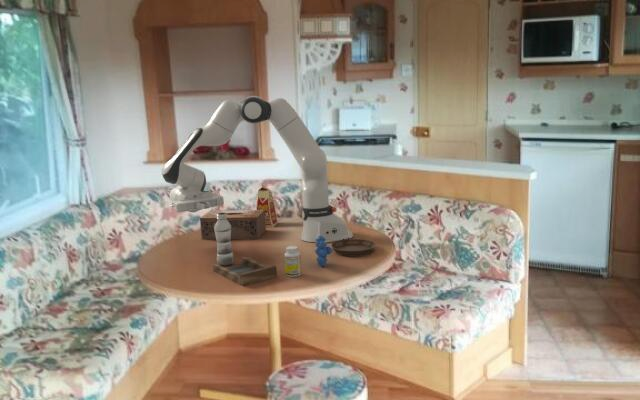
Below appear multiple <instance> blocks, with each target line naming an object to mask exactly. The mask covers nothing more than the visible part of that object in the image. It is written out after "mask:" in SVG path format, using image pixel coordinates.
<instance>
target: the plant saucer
mask: <svg viewBox="0 0 640 400" xmlns="http://www.w3.org/2000/svg"><path fill="white" fill-rule="evenodd" d="M376 245H377V244H376V243H375V242H374V241H372V240H368V239H361V238H355V239H354V238H349V239H344V240H338V241H333V243H332V242H331V245H330V247H331V248H332V249H333V251H334V252H335V253H336V254H338V255H340V256H345V257H360V256H366V255H368V254H370V253H371V252H372V251H373V250H374V249H375V247H376Z"/></svg>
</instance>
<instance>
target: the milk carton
mask: <svg viewBox="0 0 640 400" xmlns="http://www.w3.org/2000/svg"><path fill="white" fill-rule="evenodd" d="M256 210H264V211H265V227H266V228H274V227H275V226H276V225H277V224H278V216H277V212H276V211H277V210H276V206H275V200H274V197H273V191H272V190H271V189H269V188H268V187H267V185H266V184H265V185H264V184H261V187H260V188H259V189H258V191H257V198H256Z"/></svg>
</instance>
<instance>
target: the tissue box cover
mask: <svg viewBox="0 0 640 400" xmlns="http://www.w3.org/2000/svg"><path fill="white" fill-rule="evenodd" d="M218 213H226V215H227V219H226V220H227V221H228V222H229V223H230V225H231V240H259V239H260V238H261V236H262V235H263V234H264V233H265V232H266V231H267V230H266V228H267V227H265V211H264V210H257V209H238V210H235V209H231V210H229V209H228V210H225V209H224V210H223V209H222V210H209V211H207V212H206V213H205V214H203V215H202V216H200V218H199V223H200V231H201V232H200V233H201V234H200V236H201V240H216V235H215V231H214V226H215V224H216V222H217V221H218V219H217V214H218Z"/></svg>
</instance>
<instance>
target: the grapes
mask: <svg viewBox="0 0 640 400" xmlns="http://www.w3.org/2000/svg"><path fill="white" fill-rule="evenodd" d="M325 240H326V239H325V238H324V237H323V236H318V238H317V239H316V241H317V242H315V243H316V244H315V247H316V249H315V251H314V252H315V255H317V256H318V257H317V258H316V261H317V264H318V265H319V266H320V267H324V266H325V265H327V261H328V259H327V257H328V255H331V253H332V252H333V251H334V250H333V249H332V247H331V246H329V245H327V243H325Z"/></svg>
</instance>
